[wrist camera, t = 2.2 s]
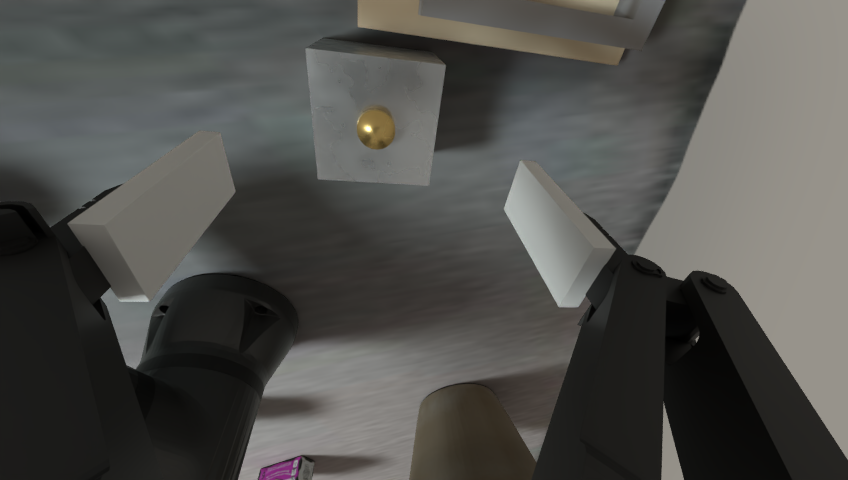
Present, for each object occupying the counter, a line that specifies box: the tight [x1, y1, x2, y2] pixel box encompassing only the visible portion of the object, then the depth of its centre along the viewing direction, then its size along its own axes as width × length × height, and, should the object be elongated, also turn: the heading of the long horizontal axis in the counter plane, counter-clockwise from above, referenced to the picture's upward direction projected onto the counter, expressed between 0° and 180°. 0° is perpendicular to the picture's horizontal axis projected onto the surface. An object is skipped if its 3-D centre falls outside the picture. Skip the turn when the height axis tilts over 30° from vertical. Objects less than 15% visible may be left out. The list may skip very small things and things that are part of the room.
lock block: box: [306, 38, 446, 186], centre depth 22 cm, size 8×8×7 cm
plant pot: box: [409, 384, 537, 480], centre depth 50 cm, size 25×25×22 cm
